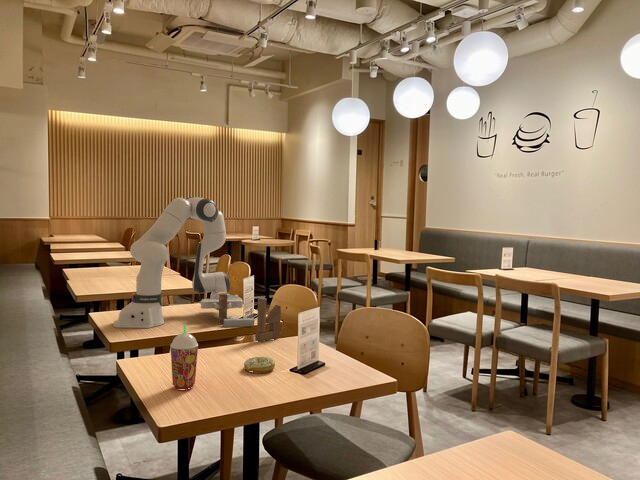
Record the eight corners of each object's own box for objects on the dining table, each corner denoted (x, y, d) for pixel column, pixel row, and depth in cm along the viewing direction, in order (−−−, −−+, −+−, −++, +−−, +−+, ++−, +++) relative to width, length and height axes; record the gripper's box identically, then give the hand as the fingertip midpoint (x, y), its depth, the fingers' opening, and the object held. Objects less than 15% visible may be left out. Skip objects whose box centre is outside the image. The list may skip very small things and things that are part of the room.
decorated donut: (242, 366, 191) (242, 356, 190) (271, 364, 194) (271, 354, 193) (246, 375, 181) (246, 364, 180) (277, 373, 184) (277, 362, 183)
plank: (219, 323, 253) (219, 294, 252) (218, 322, 257) (219, 293, 256) (226, 323, 254) (227, 294, 253) (225, 321, 258) (226, 293, 257)
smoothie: (165, 387, 167) (165, 323, 165) (188, 381, 172) (189, 320, 171) (178, 394, 161) (179, 329, 159) (202, 388, 167) (203, 325, 165)
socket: (224, 326, 248) (224, 320, 247) (222, 322, 256) (222, 316, 256) (254, 325, 251) (254, 319, 251) (251, 321, 260) (251, 315, 259)
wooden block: (280, 338, 230) (281, 297, 229) (260, 342, 223) (261, 299, 222) (274, 336, 233) (275, 295, 232) (254, 340, 226) (255, 298, 225)
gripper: (199, 295, 264) (200, 300, 251) (240, 294, 270) (244, 299, 257) (199, 307, 265) (200, 313, 252) (240, 307, 270) (244, 312, 257)
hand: (223, 306), depth 254 cm, fingers closed on plank, 3 cm apart
